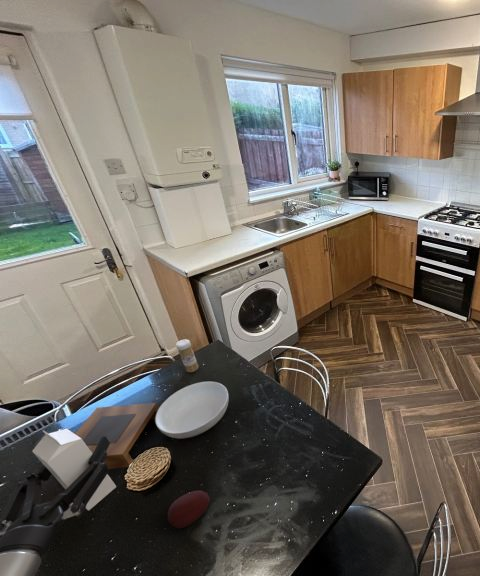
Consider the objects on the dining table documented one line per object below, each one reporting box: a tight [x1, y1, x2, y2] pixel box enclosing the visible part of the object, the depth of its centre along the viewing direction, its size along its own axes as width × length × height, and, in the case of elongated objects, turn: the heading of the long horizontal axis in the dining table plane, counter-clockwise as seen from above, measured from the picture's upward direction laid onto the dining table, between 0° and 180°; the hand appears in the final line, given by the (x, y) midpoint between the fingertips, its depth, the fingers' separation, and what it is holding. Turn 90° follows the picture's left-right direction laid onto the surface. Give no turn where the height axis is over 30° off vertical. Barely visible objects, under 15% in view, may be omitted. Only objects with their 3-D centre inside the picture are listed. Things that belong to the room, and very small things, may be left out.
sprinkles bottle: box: [175, 338, 199, 373], centre depth 121 cm, size 5×5×14 cm
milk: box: [31, 428, 117, 512], centre depth 70 cm, size 6×6×22 cm
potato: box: [167, 490, 211, 529], centre depth 78 cm, size 8×9×6 cm
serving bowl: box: [154, 381, 230, 439], centre depth 102 cm, size 21×21×7 cm
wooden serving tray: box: [74, 402, 160, 470], centre depth 95 cm, size 18×18×6 cm
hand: (83, 445), depth 73 cm, fingers closed on milk, 8 cm apart
